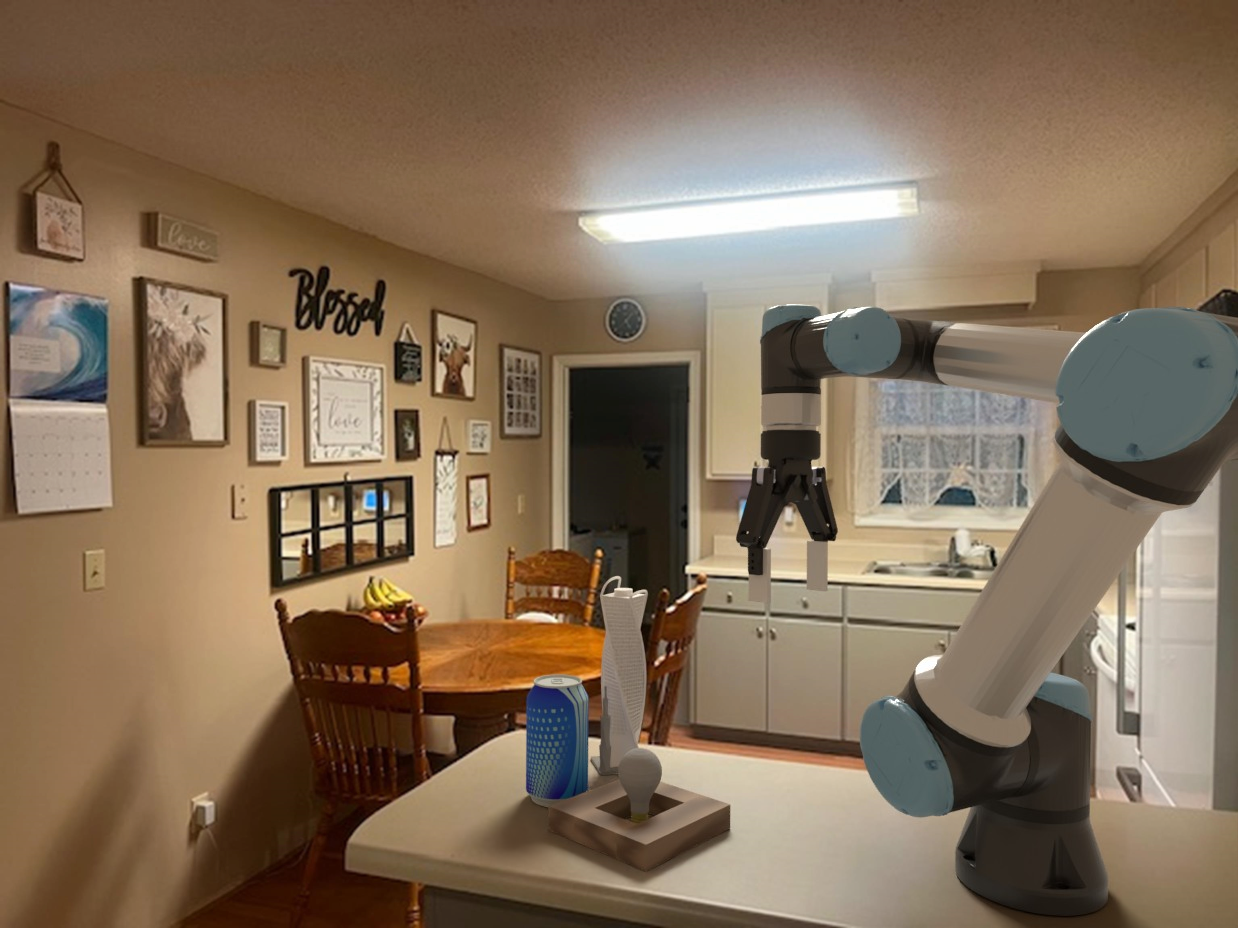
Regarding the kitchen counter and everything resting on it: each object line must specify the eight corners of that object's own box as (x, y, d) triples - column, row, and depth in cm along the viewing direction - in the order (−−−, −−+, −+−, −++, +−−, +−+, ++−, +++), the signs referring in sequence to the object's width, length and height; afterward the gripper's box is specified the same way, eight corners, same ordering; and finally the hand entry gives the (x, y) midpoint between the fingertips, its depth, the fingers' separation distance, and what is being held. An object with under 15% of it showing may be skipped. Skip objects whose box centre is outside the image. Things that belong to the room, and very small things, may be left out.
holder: (730, 828, 110) (730, 804, 110) (645, 871, 98) (646, 844, 98) (634, 794, 121) (634, 772, 121) (548, 829, 109) (548, 805, 109)
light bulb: (657, 840, 106) (658, 757, 106) (613, 836, 108) (614, 754, 108) (664, 822, 112) (665, 743, 112) (622, 818, 113) (622, 740, 113)
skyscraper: (588, 756, 137) (589, 575, 137) (639, 752, 139) (640, 574, 139) (600, 775, 129) (601, 583, 129) (654, 770, 130) (655, 581, 130)
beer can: (599, 794, 121) (600, 677, 121) (563, 814, 114) (564, 691, 114) (550, 782, 126) (551, 669, 126) (513, 800, 119) (513, 682, 119)
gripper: (815, 432, 124) (814, 583, 124) (707, 426, 106) (706, 603, 106) (864, 431, 119) (863, 588, 119) (760, 424, 101) (759, 610, 101)
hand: (789, 595), depth 112 cm, fingers open, 13 cm apart
